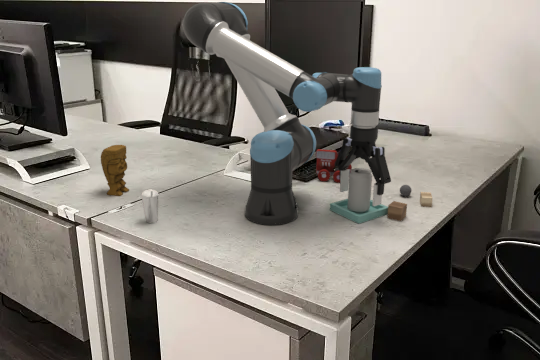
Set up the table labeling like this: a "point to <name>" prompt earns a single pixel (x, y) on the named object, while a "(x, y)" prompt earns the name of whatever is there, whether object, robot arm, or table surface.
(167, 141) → the table surface
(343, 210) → the tray
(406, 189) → the black rubber ball
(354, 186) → the beverage can
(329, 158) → the toy fire truck
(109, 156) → the figurine
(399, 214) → the walnut block
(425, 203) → the beech block
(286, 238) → the table surface
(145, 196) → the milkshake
